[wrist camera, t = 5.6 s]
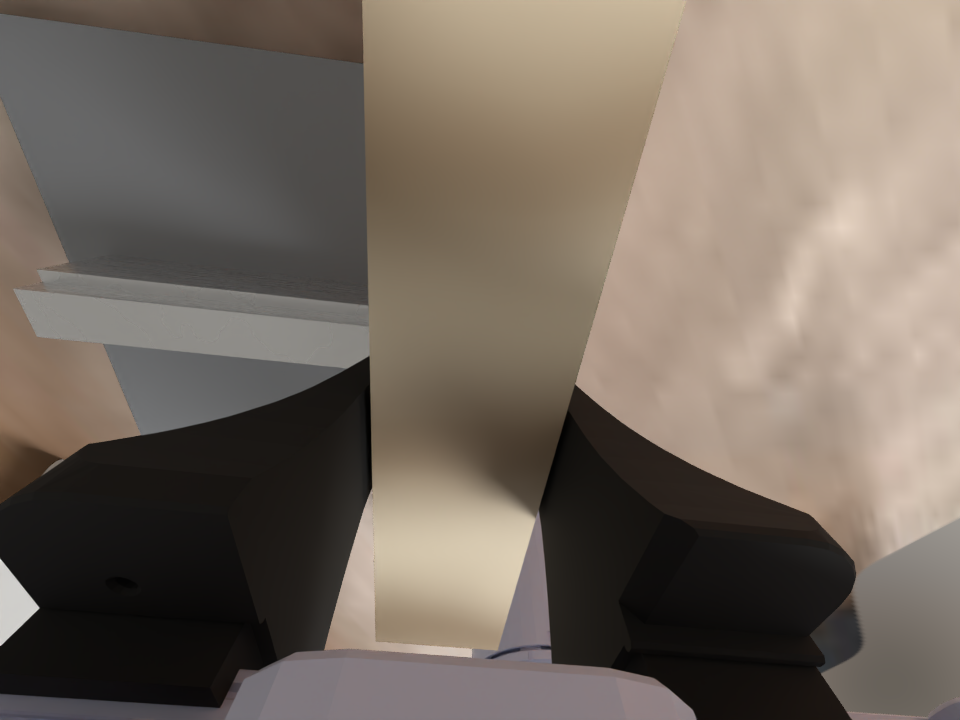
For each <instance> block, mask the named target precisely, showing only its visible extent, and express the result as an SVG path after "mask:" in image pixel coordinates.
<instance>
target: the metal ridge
mask: <svg viewBox="0 0 960 720" xmlns="http://www.w3.org/2000/svg"><path fill="white" fill-rule="evenodd" d="M37 271H38V273H39V276H40V278H41V280H42V282H39V283H35V284H31V285H26V286H22V287H18V288H13V290H14V292H15V294H16V296H17V298H18V300H19V302H20V304H21V306H22V308H23V310H24V312H25V314H26V316H27V318H28V320H29V322H30V324H31V325H32V327H33V329H34V331H35V333H36V335H37V337H43V338H53V339H63V340H73V341H83V342H93V343H103V344H112V345H122V346H132V347H142V348H152V349H162V350H172V351H181V352H191V353H201V354H211V355H221V356H231V357H241V358H250V359H260V360H270V361H280V362H290V363H300V364H309V365H319V366H329V367H339V368H349V367H351V366H353V365H354V364H356V363H358V362H360V361H361V360H363V359H365V358H366V357H368V356H370V347H369V300H368V284H364V283H355V282H346V281H337V280H328V279H319V278H310V277H301V276H292V275H283V274H274V273H265V272H256V271H247V270H238V269H229V268H221V267H212V266H203V265H194V264H185V263H176V262H167V261H158V260H149V259H140V258H131V257H122V256H113V255H106V256H101V257H96V258H91V259H86V260H81V261H76V262H71V263H66V264H61V265H56V266H51V267H46V268H41V269H37Z"/></svg>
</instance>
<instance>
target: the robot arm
mask: <svg viewBox="0 0 960 720" xmlns="http://www.w3.org/2000/svg"><path fill="white" fill-rule="evenodd" d="M371 489H372V442H371V394H370V356H368V357H366V358H365V359H363V360H361V361H360V362H358V363H356V364H354V365H353V366H351V367H349V368H347V369H346V370H344V371H342V372H340V373H338V374H336V375H334V376H333V377H331V378H329V379H327V380H325V381H323V382H321V383H319V384H317V385H315V386H313V387H310V388H308V389H306V390H304V391H301V392H299V393H297V394H294V395H292V396H289V397H286V398H284V399H281V400H279V401H276V402H273V403H270V404H267V405H264V406H261V407H257V408H254V409H251V410H248V411H245V412H242V413H238V414H235V415H232V416H228V417H224V418H220V419H216V420H213V421H209V422H205V423H200V424H196V425H191V426H187V427H183V428H178V429H173V430H168V431H163V432H158V433H152V434H146V435H141V436H135V437H129V438H123V439H117V440H112V441H106V442H99V443H92V444H88V445H86V446H85V447H83V448H82V449H80V450H79V451H77V452H76V453H74V454H73V455H71V456H70V457H68V458H67V459H65V460H64V461H62V462H61V463H60V464H58V465H57V466H55V467H54V468H52V469H51V470H49V471H48V472H46V473H45V474H43V475H42V476H41V477H39V478H38V479H36V480H35V481H33V482H32V483H30V484H29V485H27V486H26V487H24V488H23V489H21V490H20V491H19V492H17V493H16V494H14V495H13V496H11V497H10V498H8V499H7V500H5V501H4V502H2V503H1V504H0V559H1V560H2V562H3V563H4V564H5V565H6V567H7V568H8V569H9V570H10V572H11V573H12V574H13V575H14V577H15V578H16V579H17V580H18V582H19V583H20V584H21V585H22V587H23V588H24V589H25V590H26V592H27V593H28V594H29V595H30V597H31V598H32V599H33V600H34V602H35V603H36V604H37V605H38V607H39V609H38V610H37V611H36V612H35V613H34V614H33V615H32V616H31V617H30V618H29V619H28V620H27V621H26V622H25V623H24V624H23V625H22V626H21V627H20V628H19V629H18V630H17V631H16V632H14V633H13V634H12V635H11V636H10V637H9V638H8V639H7V640H6V641H5V642H4V643H3V644H2V645H1V646H0V720H960V697H957V698H953V699H951V700H948V701H946V702H944V703H942V704H941V705H939V706H937V707H936V708H934V709H933V710H932V711H931V712H930V713H929V716H928V717H917V716H903V715H889V714H873V713H860V712H846V711H845V709H844V707H843V706H842V704H841V703H840V701H839V700H838V698H837V697H836V695H835V694H834V693H833V691H832V690H831V688H830V687H829V685H828V684H827V682H826V681H825V679H824V678H823V676H822V675H821V673H820V672H819V670H818V669H817V668H816V667H821V666H822V665H824V664H825V658H824V655H823V654H822V652H821V651H820V650H819V648H818V647H817V645H816V644H815V642H814V641H813V640H812V638H811V637H810V634H811V633H812V632H813V631H814V630H815V629H816V628H817V627H818V626H819V625H820V624H821V623H822V622H823V621H824V620H825V619H826V618H827V617H828V616H830V615H831V614H832V613H833V612H834V611H835V610H836V609H837V608H838V607H839V606H840V605H841V604H842V603H843V601H844V600H845V599H846V598H847V597H848V595H849V594H850V593H851V591H852V588H853V585H854V582H855V578H856V571H855V565H854V561H853V560H852V559H851V558H850V556H849V555H848V554H847V553H846V552H845V551H844V550H843V548H842V547H841V546H840V545H839V544H838V543H837V542H836V541H835V540H834V539H833V538H832V537H831V536H830V535H829V534H828V533H827V532H826V531H825V530H824V529H823V528H822V527H821V525H820V524H819V523H818V522H817V521H816V520H815V519H814V518H813V517H812V516H810V515H809V514H807V513H804V512H802V511H799V510H796V509H794V508H791V507H789V506H786V505H784V504H781V503H778V502H776V501H773V500H771V499H768V498H766V497H763V496H760V495H758V494H755V493H753V492H750V491H748V490H745V489H743V488H741V487H738V486H736V485H734V484H732V483H729V482H727V481H725V480H723V479H721V478H718V477H716V476H714V475H712V474H710V473H708V472H706V471H703V470H701V469H699V468H697V467H695V466H693V465H691V464H689V463H688V462H686V461H684V460H682V459H680V458H678V457H676V456H675V455H673V454H671V453H669V452H667V451H665V450H664V449H662V448H660V447H658V446H657V445H655V444H653V443H652V442H650V441H649V440H647V439H645V438H644V437H642V436H641V435H639V434H638V433H636V432H635V431H633V430H632V429H630V428H629V427H627V426H626V425H624V424H623V423H621V422H620V421H619V420H617V419H616V418H615V417H614V416H612V415H611V414H610V413H608V412H607V411H606V410H604V409H603V408H602V407H601V406H599V405H598V404H597V403H596V402H595V401H593V400H592V399H591V398H590V397H589V396H588V395H586V394H585V393H584V392H583V391H582V390H581V389H580V388H578V387H577V386H576V385H575V386H574V389H573V393H572V396H571V399H570V403H569V406H568V410H567V413H566V417H565V420H564V424H563V427H562V430H561V434H560V437H559V441H558V444H557V448H556V451H555V455H554V458H553V461H552V465H551V468H550V472H549V475H548V479H547V482H546V486H545V489H544V492H543V496H542V499H541V503H540V506H539V510H538V513H537V516H536V520H535V523H534V527H533V530H532V534H531V537H530V541H529V544H528V547H527V551H526V554H525V558H524V561H523V565H522V568H521V572H520V575H519V578H518V582H517V585H516V589H515V592H514V596H513V599H512V603H511V606H510V609H509V613H508V616H507V620H506V623H505V627H504V630H503V634H502V637H501V640H500V644H499V647H498V651H496V650H483V649H472V658H468V657H454V656H440V655H427V654H413V653H400V652H386V651H372V650H359V649H339V650H324V648H325V644H326V640H327V636H328V632H329V629H330V625H331V621H332V618H333V614H334V610H335V607H336V603H337V599H338V596H339V592H340V588H341V585H342V581H343V577H344V574H345V571H346V567H347V564H348V560H349V557H350V553H351V550H352V546H353V543H354V539H355V536H356V533H357V530H358V526H359V523H360V520H361V516H362V513H363V510H364V507H365V504H366V502H367V499H368V496H369V494H370V491H371Z"/></svg>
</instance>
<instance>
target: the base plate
mask: <svg viewBox="0 0 960 720" xmlns="http://www.w3.org/2000/svg"><path fill="white" fill-rule="evenodd" d="M0 97H1V99H2V102H3V104H4V107H5V109H6V111H7V114H8V116H9V119H10V121H11V123H12V126H13V128H14V131H15V133H16V135H17V138H18V140H19V143H20V145H21V147H22V150H23V152H24V155H25V157H26V159H27V162H28V164H29V167H30V169H31V171H32V174H33V176H34V179H35V181H36V184H37V186H38V188H39V191H40V193H41V196H42V198H43V200H44V203H45V205H46V208H47V210H48V212H49V215H50V217H51V220H52V222H53V224H54V227H55V229H56V232H57V234H58V236H59V239H60V241H61V244H62V246H63V248H64V251H65V253H66V256H67V258H68V260H69V263H71V262H76V261H81V260H86V259H91V258H96V257H101V256H106V255H113V256H122V257H131V258H140V259H149V260H158V261H167V262H176V263H185V264H194V265H203V266H212V267H221V268H229V269H238V270H247V271H256V272H265V273H274V274H283V275H292V276H301V277H310V278H319V279H328V280H337V281H346V282H355V283H364V284H368V253H367V206H366V158H365V111H364V64H362V63H355V62H347V61H340V60H333V59H326V58H319V57H311V56H304V55H297V54H290V53H282V52H275V51H268V50H261V49H253V48H246V47H239V46H232V45H225V44H217V43H210V42H203V41H196V40H188V39H181V38H174V37H167V36H159V35H152V34H145V33H138V32H130V31H123V30H116V29H109V28H102V27H94V26H87V25H80V24H73V23H65V22H58V21H51V20H44V19H36V18H29V17H22V16H15V15H8V14H0ZM103 345H104V347H105V349H106V352H107V354H108V357H109V359H110V361H111V364H112V366H113V369H114V371H115V373H116V376H117V378H118V381H119V383H120V385H121V388H122V390H123V393H124V395H125V397H126V400H127V402H128V405H129V407H130V409H131V412H132V414H133V417H134V419H135V421H136V424H137V426H138V429H139V431H140V434H141V435H146V434H152V433H158V432H163V431H168V430H173V429H178V428H183V427H187V426H191V425H196V424H200V423H205V422H209V421H213V420H216V419H220V418H224V417H228V416H232V415H235V414H238V413H242V412H245V411H248V410H251V409H254V408H257V407H261V406H264V405H267V404H270V403H273V402H276V401H279V400H281V399H284V398H286V397H289V396H292V395H294V394H297V393H299V392H301V391H304V390H306V389H308V388H310V387H313V386H315V385H317V384H319V383H321V382H323V381H325V380H327V379H329V378H331V377H333V376H334V375H336V374H338V373H340V372H342V371H344V370H346V369H347V368H339V367H329V366H319V365H309V364H300V363H290V362H280V361H270V360H260V359H250V358H241V357H231V356H221V355H211V354H201V353H191V352H181V351H172V350H162V349H152V348H142V347H132V346H122V345H112V344H103Z"/></svg>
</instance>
